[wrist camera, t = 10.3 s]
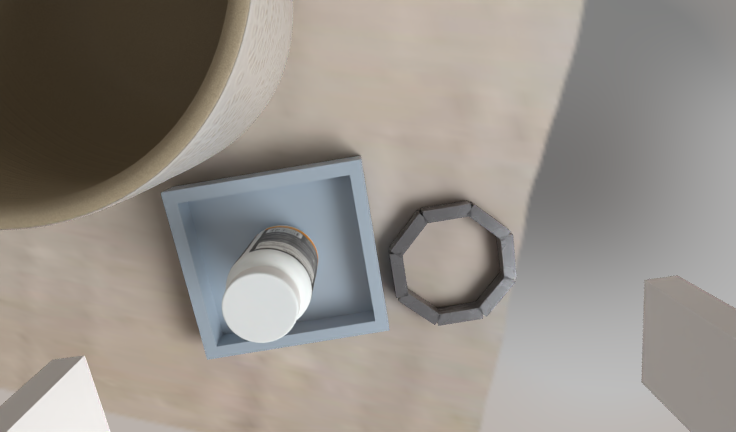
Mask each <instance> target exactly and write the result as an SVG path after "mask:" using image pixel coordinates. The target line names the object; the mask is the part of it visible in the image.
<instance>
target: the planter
mask: <svg viewBox="0 0 736 432" xmlns="http://www.w3.org/2000/svg"><path fill="white" fill-rule="evenodd" d="M292 27H293V0H0V230H17V229H28V228H37V227H43V226H49V225H54V224H59V223H63V222H67V221H71V220H74V219H78V218H81V217H84V216H87V215H90V214H93V213H96V212H98V211H101V210H103V209H106V208H109V207H111V206H114V205H116V204H118V203H121V202H123V201H125V200H127V199H130V198H132V197H134V196H136V195H138V194H140V193H142V192H144V191H146V190H148V189H151V188H153V187H155V186H157V185H158V184H160V183H162V182H164V181H166V180H168V179H170V178H172V177H174V176H177V175H179V174H181V173H183V172H185V171H187V170H189V169H191V168H193V167H195V166H196V165H198V164H200V163H202V162H204V161H205V160H207V159H209V158H211V157H212V156H214V155H215V154H217V153H218V152H220V151H221V150H223V149H224V148H226V147H227V146H229V145H230V144H231V143H233V142H234V141H235V140H236V139H238V138H239V137H240V136H241V135H242V134H243V133H244V132H245V131H246V130H247V129H248V128H249V127H250V126H251V125H252V124H253V123H254V121H255V120H256V119H257V118H258V116H259V115H260V114H261V112H262V111H263V110H264V109H265V107H266V106H267V104H268V103H269V101H270V99H271V98H272V96H273V94H274V92H275V90H276V88H277V86H278V84H279V82H280V80H281V77H282V75H283V72H284V69H285V66H286V62H287V59H288V55H289V50H290V44H291V37H292Z"/></svg>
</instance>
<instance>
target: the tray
mask: <svg viewBox="0 0 736 432" xmlns="http://www.w3.org/2000/svg"><path fill="white" fill-rule="evenodd" d="M161 196H162V200H163V203H164V207H165V210H166V214H167V218H168V221H169V225H170V228H171V232H172V235H173V239H174V242H175V246H176V250H177V253H178V257H179V260H180V264H181V267H182V271H183V275H184V278H185V282H186V285H187V289H188V292H189V296H190V299H191V303H192V307H193V310H194V314H195V317H196V321H197V324H198V328H199V332H200V335H201V339H202V342H203V346H204V349H205V353H206V357H207V360H208V359H214V358H220V357H226V356H233V355H239V354H245V353H251V352H258V351H264V350H270V349H276V348H282V347H289V346H295V345H301V344H307V343H314V342H320V341H326V340H332V339H338V338H345V337H351V336H357V335H363V334H370V333H376V332H382V331H388V330H389V323H388V317H387V310H386V304H385V298H384V292H383V286H382V281H381V275H380V269H379V263H378V257H377V251H376V245H375V239H374V233H373V227H372V221H371V215H370V209H369V203H368V197H367V191H366V185H365V179H364V173H363V167H362V161H361V156H355V157H349V158H343V159H337V160H331V161H325V162H319V163H313V164H307V165H301V166H294V167H288V168H282V169H276V170H270V171H264V172H258V173H252V174H246V175H240V176H234V177H228V178H222V179H216V180H210V181H204V182H198V183H192V184H186V185H180V186H174V187H172V188H170V189H168V190H165V191H163V192H161ZM277 225H288V226H292V227H295V228H298V229H300V230H302V231H303V232H304V233H306V234H307V235H308V236H309V237H310V238H311V239H312V241H313V242H314V244H315V246H316V249H317V252H318V269H317V273H316V278H315V283H314V288H313V292H312V298H311V300H310V303H309V305H308V307H307V309H306V311H305V312H304V313H303V315H302V316H301V317H300V318H299V319H298V320H296V322H295V324H294V326H293V327H292V329H291V330H290V331H289V332H288V333H287V334H286V335H284V336H283V337H281V338H280V339H277V340H275V341H272V342H267V343H256V342H251V341H248V340H245V339H243V338H241V337H239V336H238V335H236V334H235V333H234V332H233V331H232V330H231V329H230V328H229V326H228V325H227V323H226V322H225V320H224V317H223V314H222V299H223V295H224V293H225V291H226V281H227V277H228V274H229V271H230V269H231V268H232V266H233V265H234V263H235V262H236V261H237V260H238V258H239V257H240V256H241V255H242V253H243V252H244V251H245V249H246V248H247V247H248V245H249V244H250V243H251V241H252V240H253V239H254V238H255V237H256V236H257V235H258V234H259V233H260V232H261V231H263V230H265V229H266V228H269V227H272V226H277Z"/></svg>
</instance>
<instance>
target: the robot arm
mask: <svg viewBox="0 0 736 432" xmlns="http://www.w3.org/2000/svg"><path fill="white" fill-rule="evenodd" d="M643 314H644V315H643V347H642V383H643V384H644V385H645V386H646V387H647V388H648V389H649V390H650V391H651V392H652V393H653V394H654V395H655V397H657V399H658V400H660V402H662V404H664V406H665V407H666V408H667V409H668V410H669V411H670V412H671V413H672V414H673V415H674V416H675V417H677V419H678V420H679V421H680V422H681V423H682V424H683V425H684V426H685V427H686V428H687V429H688V430H689V431H690V432H736V308H734V307H732V306H730V305H729V304H727V303H725V302H723V301H721V300H720V299H718V298H716V297H715V296H713V295H711V294H709V293H707V292H706V291H704V290H702V289H700V288H699V287H697V286H695V285H693V284H692V283H690V282H688V281H686V280H685V279H683V278H681V277H679V276H670V277H662V278H655V279H648V280H645V281H644V313H643ZM0 432H110V429H109V426H108V424H107V420H106V417H105V414H104V411H103V408H102V405H101V402H100V399H99V396H98V393H97V391H96V388H95V385H94V382H93V379H92V376H91V373H90V370H89V367H88V364H87V361H86V358H85V356H77V357H70V358H62V359H55V360H52V361H50V362H49V363H48V364H47V365H46V366H45V367H44V368H43V369H41V370H40V371H39V372H38V373H37V374H36V375H35V376H34V377H32V378H31V379H30V380H29V381H28V382H27V383H26V384H25V385H23V386H22V387H21V388H20V389H19V390H18V391H17V392H16V393H14V394H13V395H12V396H11V397H10V398H9V399H8V400H7V401H5V402H4V403H3V404H2V405H1V406H0Z"/></svg>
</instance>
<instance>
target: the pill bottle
mask: <svg viewBox="0 0 736 432" xmlns="http://www.w3.org/2000/svg"><path fill="white" fill-rule="evenodd" d="M317 269H318V252H317V249H316V246H315V244H314V242H313V241H312V239H311V238H310V237H309V236H308V235H307V234H306V233H304V232H303V231H302V230H300V229H298V228H295V227H292V226H288V225H277V226H272V227H269V228H266V229H265V230H263V231H261V232H260V233H259V234H258V235H257V236H256V237H255V238H254V239H253V240H252V241H251V243H250V244H249V245H248V247H247V248H246V249H245V251H244V252H243V253H242V255H241V256H240V257H239V258H238V260H237V261H236V262H235V263H234V265H233V266H232V268H231V269H230V271H229V274H228V277H227V281H226V291H225V293H224V295H223V299H222V314H223V317H224V320H225V322H226V323H227V325H228V326H229V328H230V329H231V330H232V331H233V332H234V333H235V334H236V335H238V336H239V337H241V338H243V339H245V340H248V341H251V342H256V343H267V342H272V341H275V340H277V339H280V338H281V337H283V336H284V335H286V334H287V333H288V332H289V331H290V330H291V329H292V327H293V326H294V324H295V322H296V320H298V319H299V318H300V317H301V316H302V315H303V313H304V312H305V311H306V309H307V307H308V305H309V303H310V300H311V298H312V292H313V288H314V283H315V278H316V273H317Z"/></svg>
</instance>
